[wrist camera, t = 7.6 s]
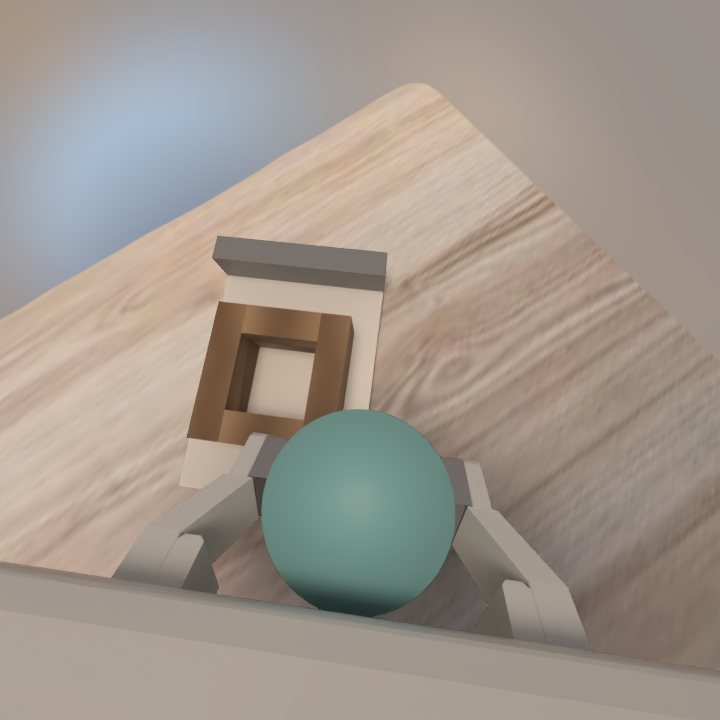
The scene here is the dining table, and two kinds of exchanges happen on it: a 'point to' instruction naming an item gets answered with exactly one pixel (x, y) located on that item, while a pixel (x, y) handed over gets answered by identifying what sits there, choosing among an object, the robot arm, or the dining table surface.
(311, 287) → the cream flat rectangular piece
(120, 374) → the dining table surface
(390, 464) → the teal rounded peg
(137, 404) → the dining table surface
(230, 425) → the socket block
